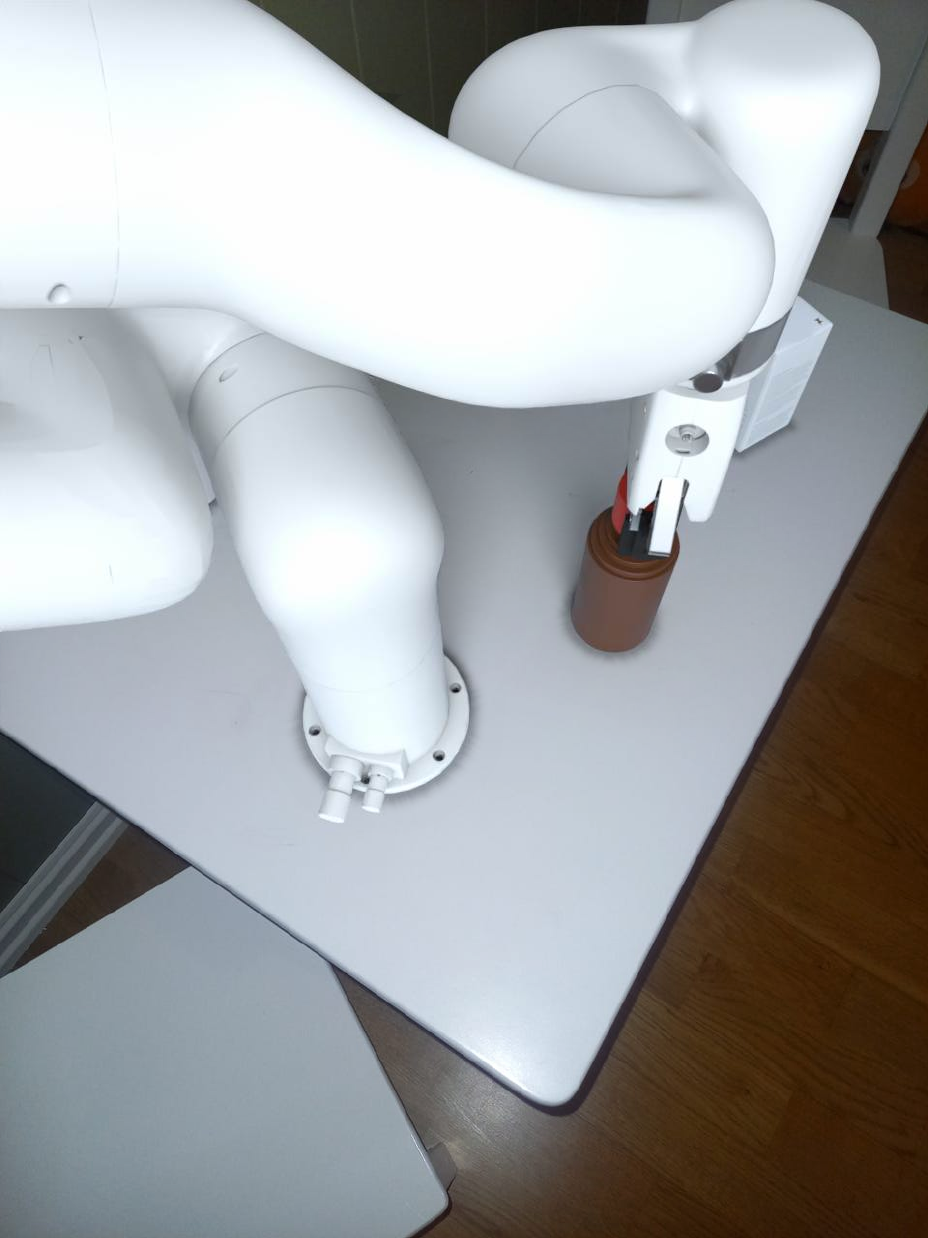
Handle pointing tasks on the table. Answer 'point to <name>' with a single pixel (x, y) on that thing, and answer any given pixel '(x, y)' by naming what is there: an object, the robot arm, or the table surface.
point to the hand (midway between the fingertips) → (642, 524)
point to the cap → (622, 504)
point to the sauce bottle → (617, 590)
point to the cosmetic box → (783, 375)
